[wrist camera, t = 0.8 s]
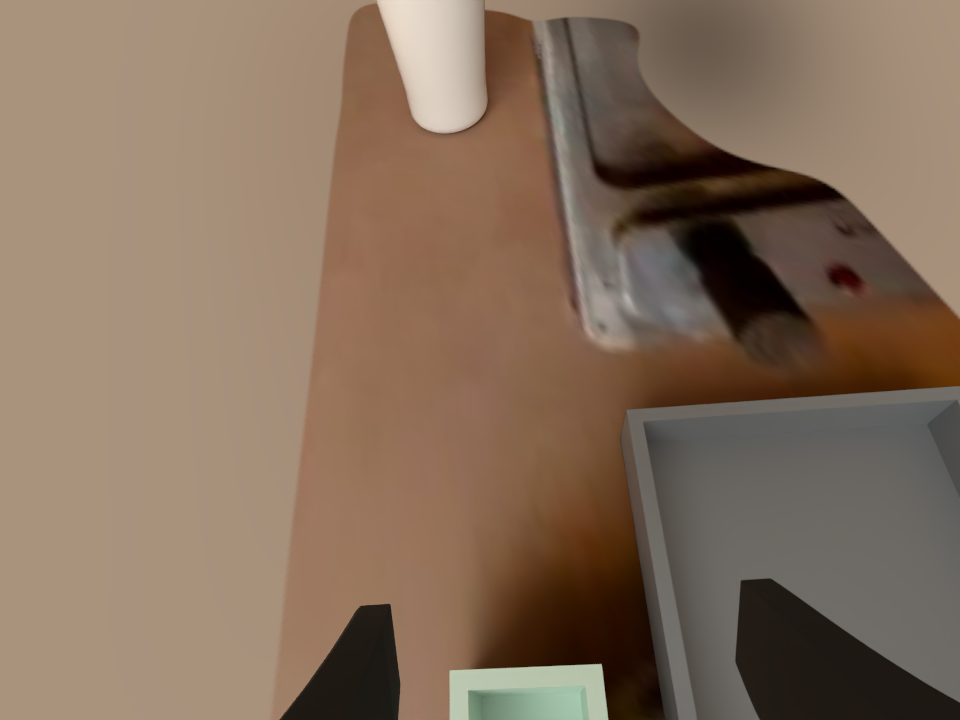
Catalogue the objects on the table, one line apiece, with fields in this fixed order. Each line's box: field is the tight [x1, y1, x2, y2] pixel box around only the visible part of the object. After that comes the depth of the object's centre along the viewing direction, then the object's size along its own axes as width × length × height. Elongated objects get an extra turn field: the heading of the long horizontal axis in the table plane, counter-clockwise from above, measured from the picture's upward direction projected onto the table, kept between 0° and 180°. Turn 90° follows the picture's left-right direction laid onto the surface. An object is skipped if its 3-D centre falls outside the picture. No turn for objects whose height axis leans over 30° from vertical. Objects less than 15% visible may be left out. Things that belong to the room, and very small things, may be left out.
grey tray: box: [620, 386, 960, 720], centre depth 23 cm, size 18×14×3 cm
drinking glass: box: [376, 0, 488, 134], centre depth 37 cm, size 7×7×15 cm
